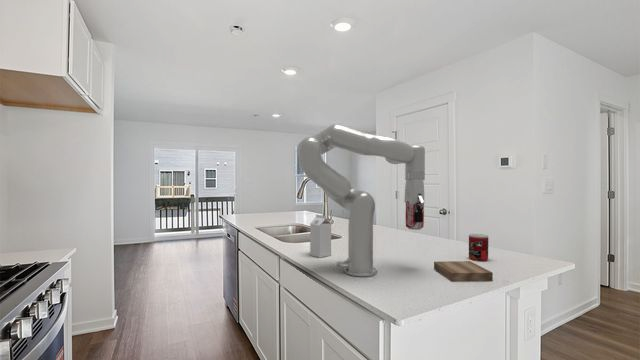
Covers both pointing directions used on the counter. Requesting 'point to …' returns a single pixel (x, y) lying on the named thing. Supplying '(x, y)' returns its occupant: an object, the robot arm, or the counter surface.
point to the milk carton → (320, 237)
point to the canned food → (478, 247)
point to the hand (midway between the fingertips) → (414, 220)
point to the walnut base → (463, 271)
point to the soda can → (412, 218)
